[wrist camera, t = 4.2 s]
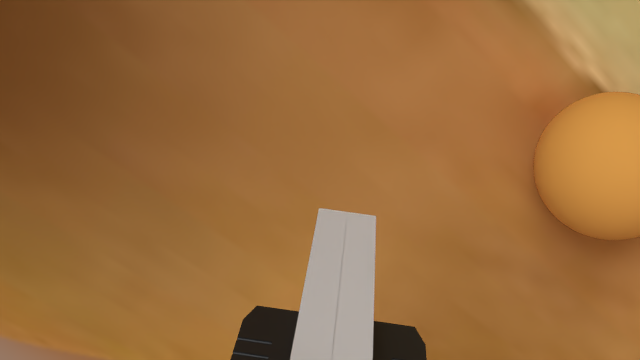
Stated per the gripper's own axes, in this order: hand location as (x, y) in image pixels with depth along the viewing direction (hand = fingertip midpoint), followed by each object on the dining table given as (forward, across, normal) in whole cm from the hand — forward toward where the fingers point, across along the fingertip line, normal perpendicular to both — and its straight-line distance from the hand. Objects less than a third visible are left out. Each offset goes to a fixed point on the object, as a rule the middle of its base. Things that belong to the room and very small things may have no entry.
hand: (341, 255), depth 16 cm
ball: (+8, +10, 0) cm, 12 cm away
